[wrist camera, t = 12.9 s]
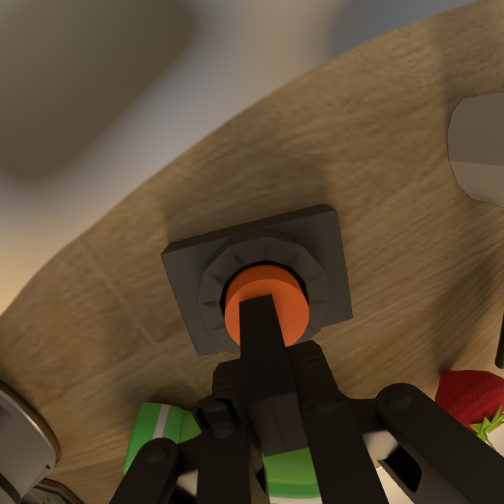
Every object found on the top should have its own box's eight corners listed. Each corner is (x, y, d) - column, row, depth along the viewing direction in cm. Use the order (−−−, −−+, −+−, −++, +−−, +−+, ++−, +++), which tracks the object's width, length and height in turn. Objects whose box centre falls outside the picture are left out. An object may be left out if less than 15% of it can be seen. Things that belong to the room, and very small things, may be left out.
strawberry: (475, 374, 24) (527, 434, 15) (414, 412, 25) (457, 485, 15) (474, 332, 23) (540, 394, 13) (407, 374, 23) (461, 456, 14)
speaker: (136, 430, 24) (117, 494, 17) (150, 377, 22) (125, 449, 15) (310, 467, 26) (322, 526, 19) (347, 424, 25) (370, 487, 17)
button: (237, 339, 17) (237, 360, 15) (216, 275, 16) (213, 291, 14) (307, 322, 17) (315, 342, 15) (293, 255, 16) (300, 269, 14)
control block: (201, 338, 21) (194, 373, 17) (167, 244, 19) (151, 264, 15) (343, 303, 21) (362, 333, 17) (325, 203, 19) (346, 214, 15)
